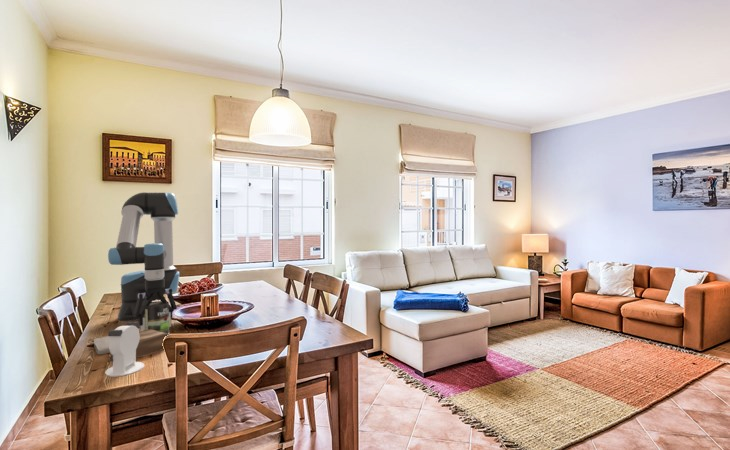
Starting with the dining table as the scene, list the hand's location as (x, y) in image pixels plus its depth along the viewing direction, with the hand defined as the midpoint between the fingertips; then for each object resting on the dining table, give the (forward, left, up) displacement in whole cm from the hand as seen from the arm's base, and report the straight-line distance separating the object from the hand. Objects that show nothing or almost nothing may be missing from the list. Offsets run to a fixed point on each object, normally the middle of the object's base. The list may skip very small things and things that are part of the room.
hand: (156, 329), depth 164 cm
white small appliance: (+28, -23, -3) cm, 36 cm away
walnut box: (+14, -11, -3) cm, 18 cm away
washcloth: (-2, -16, -4) cm, 17 cm away
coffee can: (0, 0, -3) cm, 3 cm away
